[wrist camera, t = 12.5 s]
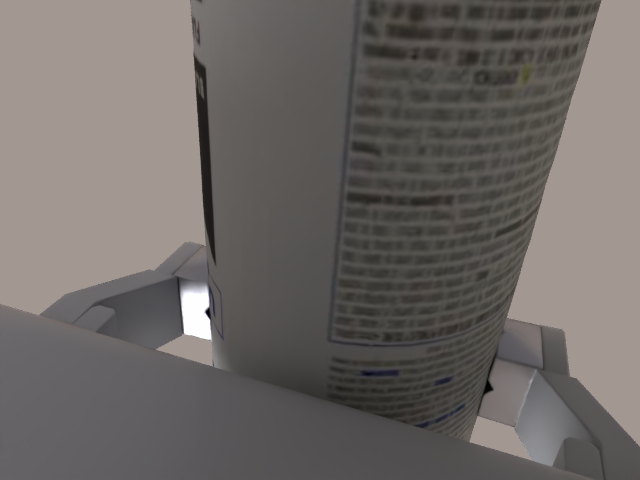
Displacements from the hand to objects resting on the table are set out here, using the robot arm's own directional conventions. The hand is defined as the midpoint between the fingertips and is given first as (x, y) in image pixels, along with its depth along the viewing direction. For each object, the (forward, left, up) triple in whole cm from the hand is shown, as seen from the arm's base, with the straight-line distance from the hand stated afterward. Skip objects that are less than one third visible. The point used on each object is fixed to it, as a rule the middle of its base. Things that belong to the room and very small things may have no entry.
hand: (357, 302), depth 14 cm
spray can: (-1, 0, -11) cm, 11 cm away
